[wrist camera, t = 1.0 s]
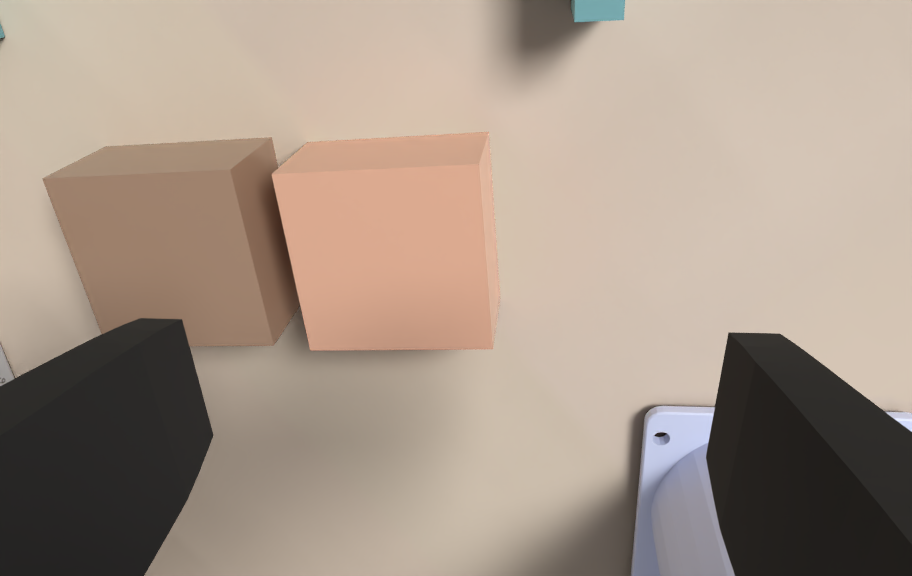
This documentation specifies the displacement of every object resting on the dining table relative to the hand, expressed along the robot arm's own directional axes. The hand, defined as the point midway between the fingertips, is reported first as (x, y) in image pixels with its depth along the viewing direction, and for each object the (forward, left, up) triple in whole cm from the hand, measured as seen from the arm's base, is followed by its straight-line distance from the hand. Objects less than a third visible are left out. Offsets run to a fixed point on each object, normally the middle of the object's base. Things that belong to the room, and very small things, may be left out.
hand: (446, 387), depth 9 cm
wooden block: (-2, +9, -11) cm, 14 cm away
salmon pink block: (-2, +3, -11) cm, 11 cm away
